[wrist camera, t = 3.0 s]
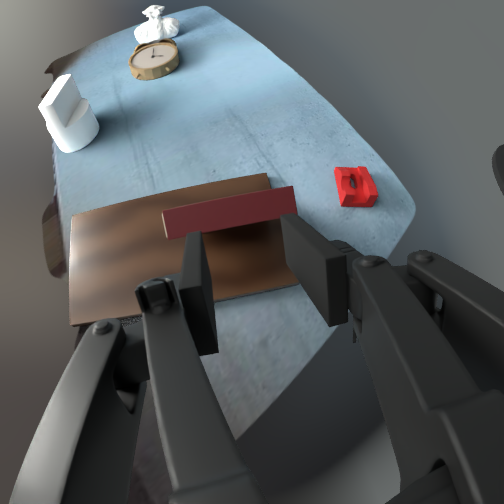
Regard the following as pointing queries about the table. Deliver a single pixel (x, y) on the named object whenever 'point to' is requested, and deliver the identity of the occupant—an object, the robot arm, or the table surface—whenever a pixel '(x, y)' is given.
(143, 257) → the stand
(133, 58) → the alarm clock
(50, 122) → the cylinder with rectangular tab
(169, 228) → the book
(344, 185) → the bracket
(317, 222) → the table surface
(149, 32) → the white tied bag
